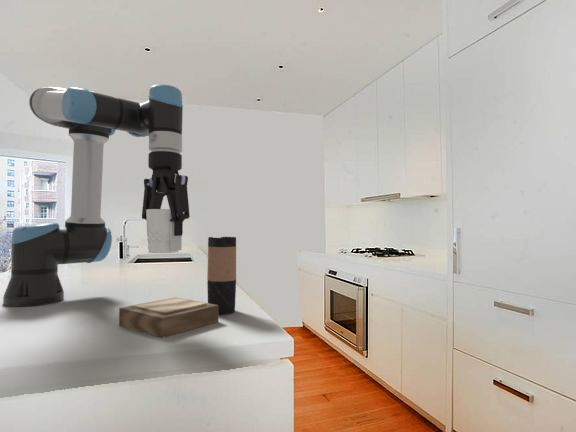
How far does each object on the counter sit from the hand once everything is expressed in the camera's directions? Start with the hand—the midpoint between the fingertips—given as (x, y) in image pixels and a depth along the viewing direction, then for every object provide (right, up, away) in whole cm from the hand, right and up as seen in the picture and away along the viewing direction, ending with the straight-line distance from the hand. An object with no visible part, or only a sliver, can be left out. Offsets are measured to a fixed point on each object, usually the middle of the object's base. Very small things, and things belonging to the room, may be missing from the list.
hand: (164, 249), depth 90 cm
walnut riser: (+1, -18, +1) cm, 18 cm away
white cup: (0, -1, 0) cm, 1 cm away
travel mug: (+11, -18, +13) cm, 25 cm away
